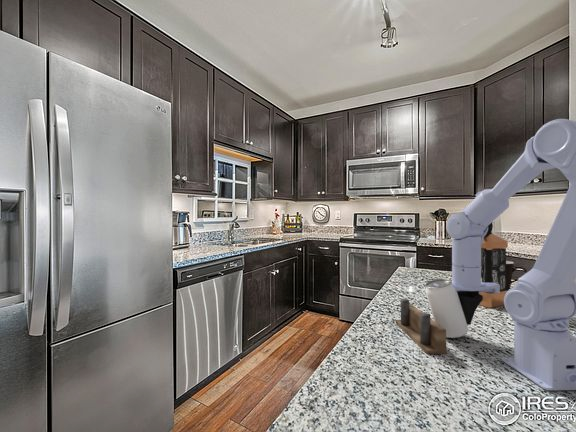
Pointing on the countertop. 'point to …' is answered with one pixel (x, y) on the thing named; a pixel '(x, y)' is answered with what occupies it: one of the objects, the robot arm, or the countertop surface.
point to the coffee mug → (509, 273)
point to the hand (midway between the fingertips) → (466, 323)
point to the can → (446, 307)
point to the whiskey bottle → (493, 267)
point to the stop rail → (422, 329)
